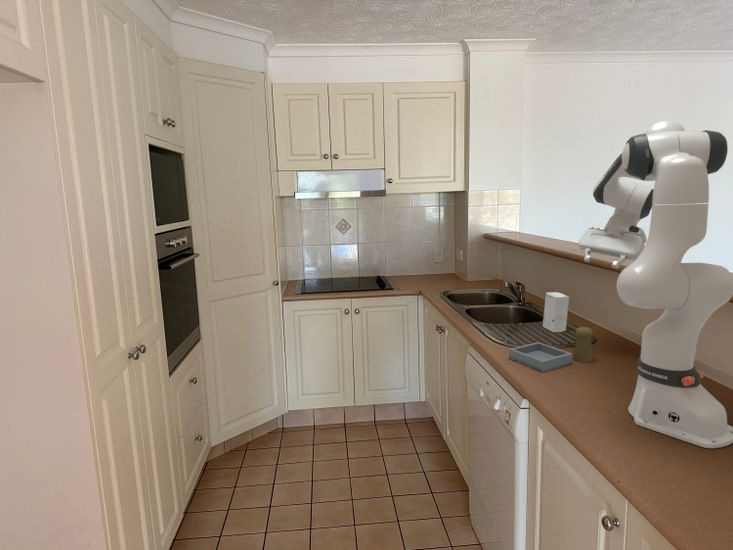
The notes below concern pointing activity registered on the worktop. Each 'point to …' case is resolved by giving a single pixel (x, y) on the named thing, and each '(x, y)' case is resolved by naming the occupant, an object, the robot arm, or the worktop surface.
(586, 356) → the cork
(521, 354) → the tray
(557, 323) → the skincare box
